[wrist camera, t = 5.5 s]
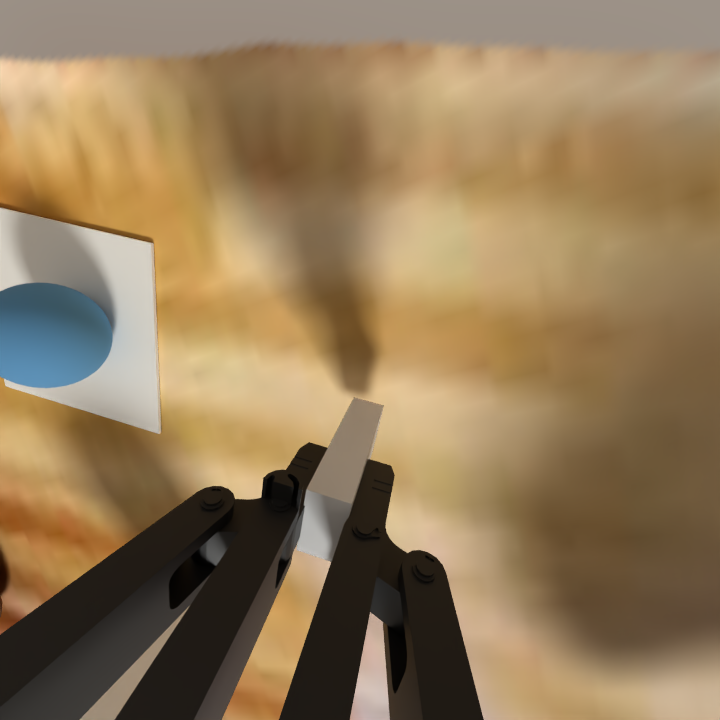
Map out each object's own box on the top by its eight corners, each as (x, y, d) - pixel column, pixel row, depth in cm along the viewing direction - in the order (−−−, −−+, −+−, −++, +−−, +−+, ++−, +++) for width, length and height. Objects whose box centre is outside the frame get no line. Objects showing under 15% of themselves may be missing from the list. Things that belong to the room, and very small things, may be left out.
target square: (153, 243, 18) (150, 243, 18) (161, 432, 23) (159, 434, 23) (-34, 199, 20) (-39, 199, 20) (8, 385, 25) (5, 386, 24)
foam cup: (140, 560, 29) (-75, 798, 17) (231, 549, 26) (50, 827, 14) (195, 641, 31) (42, 899, 19) (284, 639, 28) (169, 942, 16)
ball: (100, 304, 17) (-70, 293, 14) (107, 405, 19) (-40, 411, 16) (116, 278, 21) (-10, 265, 18) (120, 361, 23) (7, 360, 20)
